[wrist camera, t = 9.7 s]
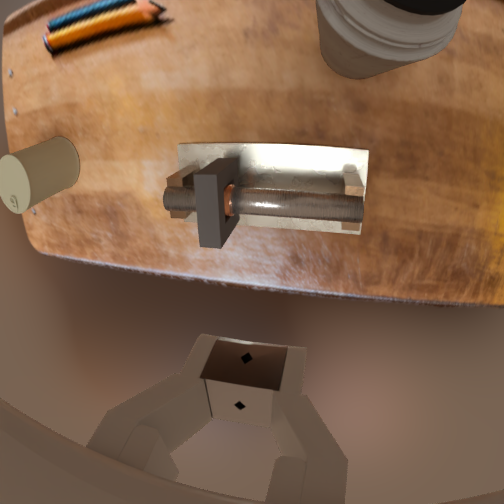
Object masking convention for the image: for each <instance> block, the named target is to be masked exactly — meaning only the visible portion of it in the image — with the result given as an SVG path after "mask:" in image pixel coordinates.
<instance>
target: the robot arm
mask: <svg viewBox="0 0 504 504" xmlns="http://www.w3.org/2000/svg"><path fill="white" fill-rule="evenodd" d="M306 355H307V348H303V347H294V346H289V347H288V346H284V345H274V344H266V343H257V342H248V341H242V340H236V339H230V338H225V337H216V336H212V335H206V334H201V335H200V336H199V337H198V339H197V341H196V343H195V345H194V347H193V349H192V351H191V352H190V354H189V356H188V358H187V360H186V362H185V364H184V366H183V368H182V370H181V372H180V374H176V373H174V374H172V375H171V376H169V377H167V378H165V379H164V380H162V381H160V382H159V383H157V384H155V385H153V386H152V387H150V388H148V389H146V390H145V391H143V392H141V393H139V394H137V395H136V396H134V397H132V398H130V399H128V400H127V401H125V402H123V403H121V404H119V405H117V406H115V407H114V408H112V409H110V410H108V411H107V413H106V414H105V416H104V418H103V419H102V421H101V423H100V424H99V426H98V427H97V429H96V430H95V432H94V434H93V436H92V437H91V439H90V440H89V442H88V444H87V445H86V447H85V446H83V445H81V444H78V443H77V442H74V441H72V440H71V439H69V438H67V437H65V436H63V435H61V434H59V433H57V432H55V431H54V430H52V429H50V428H48V427H46V426H44V425H43V424H41V423H39V422H38V421H36V420H34V419H33V418H31V417H29V416H28V415H26V414H25V413H23V412H21V411H20V410H18V409H17V408H15V407H13V406H12V405H10V404H9V403H7V402H6V401H5V400H3V399H2V398H0V504H345V493H346V481H347V467H348V459H347V458H346V456H345V455H344V453H343V452H342V450H341V448H340V447H339V445H338V444H337V442H336V441H335V439H334V438H333V436H332V434H331V433H330V431H329V430H328V428H327V426H326V425H325V423H324V422H323V420H322V419H321V417H320V415H319V414H318V412H317V411H316V409H315V407H314V406H313V404H312V402H311V401H310V399H309V398H308V396H307V395H304V394H301V392H302V385H303V378H304V370H305V362H306ZM212 418H215V419H220V420H226V421H232V422H238V423H244V424H249V425H254V426H260V427H265V428H271V432H272V434H273V436H274V439H275V441H276V443H277V445H278V448H279V450H280V453H281V455H282V456H280V457H279V458H277V459H276V460H275V463H274V468H273V472H272V476H271V481H270V484H269V488H268V492H267V496H266V500H265V502H264V501H258V500H252V499H246V498H240V497H235V496H231V495H226V494H221V493H217V492H213V491H208V490H204V489H200V488H196V487H193V486H189V485H186V484H182V483H179V482H176V479H177V477H178V474H179V471H178V469H177V467H176V465H175V463H174V461H173V459H172V458H171V455H170V453H171V452H173V451H174V450H175V449H177V448H178V447H179V446H180V445H182V444H183V443H184V442H185V441H187V440H188V439H189V438H190V437H192V436H193V435H194V434H195V433H197V432H198V431H199V430H200V429H202V428H203V427H204V426H205V425H206V424H208V423H209V422H210V421H211V420H212ZM434 504H504V489H503V490H499V491H495V492H491V493H487V494H483V495H478V496H474V497H469V498H464V499H459V500H453V501H448V502H441V503H434Z"/></svg>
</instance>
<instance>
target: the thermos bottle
mask: <svg viewBox="0 0 504 504" xmlns="http://www.w3.org/2000/svg"><path fill="white" fill-rule="evenodd" d="M465 1H466V0H316V9H317V18H318V28H319V34H320V49H321V54H322V56H323V58H324V60H325V62H326V63H327V65H328V66H329V67H330V68H331V69H332V70H333V71H335V72H336V73H338V74H339V75H342V76H344V77H347V78H350V79H365V78H369V77H372V76H375V75H377V74H380V73H383V72H386V71H389V70H392V69H395V68H398V67H401V66H405V65H408V64H411V63H414V62H418V61H421V60H424V59H427V58H429V57H431V56H433V55H436V54H437V53H439V52H440V51H441V50H442V49H444V48H445V47H446V46H447V45H448V43H449V42H450V41H451V39H452V38H453V36H454V33H455V31H456V29H457V24H458V21H459V18H460V16H461V13H462V5H463V4H464V2H465Z"/></svg>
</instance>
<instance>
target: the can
mask: <svg viewBox="0 0 504 504" xmlns="http://www.w3.org/2000/svg"><path fill="white" fill-rule="evenodd" d="M79 171H80V162H79V156H78V153H77V151H76V149H75V147H74V145H73V144H72V143H71V142H70V141H69V140H68V139H66V138H64V137H54V138H52V139H51V140H48V141H45V142H42V143H40V144H37V145H34V146H31V147H28V148H25V149H23V150H20V151H17V152H14V153H11V154H8V155H5V156H3V157H2V158H1V160H0V196H1V198H2V200H3V202H4V203H5V205H6V206H7V207H8V208H9V209H10V210H11V211H12V212H14V213H17V214H21V213H24V212H25V211H26V210H28V209H29V208H31V207H33V206H34V205H36V204H38V203H39V202H41V201H43V200H45V199H47V198H48V197H50V196H52V195H54V194H56V193H58V192H60V191H62V190H64V189H67V188H70V187H71V186H73V185H74V184H75V182H76V181H77V179H78V176H79Z"/></svg>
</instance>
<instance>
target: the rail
mask: <svg viewBox="0 0 504 504" xmlns="http://www.w3.org/2000/svg"><path fill="white" fill-rule="evenodd" d="M177 147H178V160H179V171H178V172H176V173H174V174H173V175H171V176H169V177H168V178H166V179H167V187H166V189H165V191H164V195H163V203H164V207H165V209H166V210H167V211H170V214H171V218H181V219H184V222H197V211H196V200H195V188H194V175H193V174H195V173H196V172H198V171H199V170H201V169H202V168H204V167H205V166H207V165H208V164H210V163H211V162H213V161H214V160H216V159H217V158H238V186H239V187H235V185H227V186H226V187H225V188H224V206H225V216H233V215H234V214H239V215H240V220H239V222H238V223H237V225H244V226H258V227H272V228H286V229H299V230H311V231H323V232H335V233H347V234H358V235H360V233H361V225H362V220H363V213H364V200H365V190H366V180H367V169H368V156H369V150H368V149H358V148H347V147H335V146H322V145H305V144H284V143H238V142H227V143H181V144H178V145H177ZM197 223H198V222H197Z"/></svg>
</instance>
